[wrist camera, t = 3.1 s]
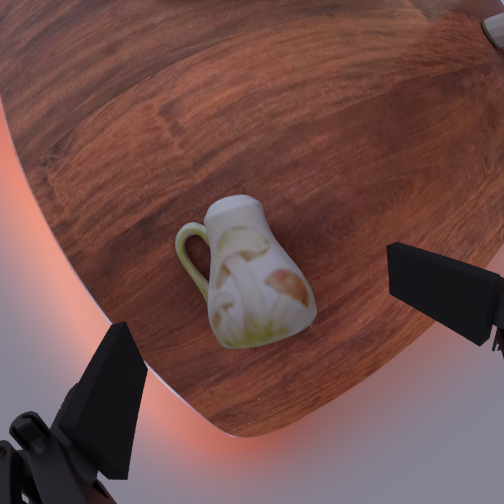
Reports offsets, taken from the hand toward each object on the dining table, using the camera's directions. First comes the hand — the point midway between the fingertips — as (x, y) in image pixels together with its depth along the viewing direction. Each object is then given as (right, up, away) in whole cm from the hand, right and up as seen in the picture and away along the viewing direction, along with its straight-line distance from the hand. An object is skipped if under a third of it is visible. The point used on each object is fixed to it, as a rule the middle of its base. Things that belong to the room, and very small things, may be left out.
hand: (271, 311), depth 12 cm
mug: (-2, +2, +9) cm, 9 cm away
